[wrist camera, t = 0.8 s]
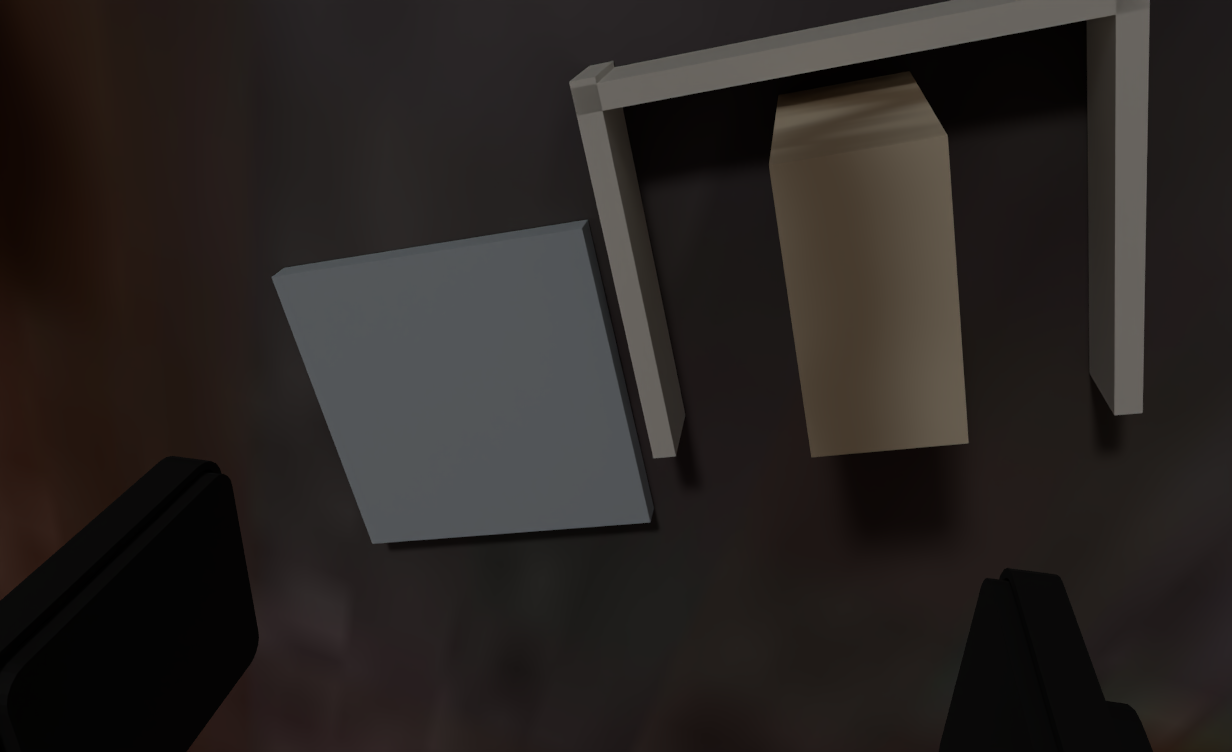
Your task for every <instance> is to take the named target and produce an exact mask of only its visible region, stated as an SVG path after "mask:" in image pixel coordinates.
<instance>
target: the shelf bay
mask: <svg viewBox="0 0 1232 752" xmlns="http://www.w3.org/2000/svg"><path fill="white" fill-rule="evenodd" d="M1149 13H1150V0H951V1H946V2H941V3H936V4H931V5H926V6H921V7H916V8H911V9H906V10H901V11H896V12H891V13H886V14H881V15H876V16H871V17H866V18H861V19H856V20H851V21H846V22H841V23H836V24H831V25H826V26H821V27H816V28H810V29H805V30H800V31H795V32H790V33H785V34H780V35H775V36H770V37H765V38H760V39H755V40H750V41H745V42H740V43H735V44H730V45H725V46H720V47H715V48H710V49H705V50H700V51H695V52H690V53H685V54H680V55H675V56H669V57H664V58H659V59H654V60H649V61H644V62H639V63H634V64H629V65H624V66H619V67H614V62H613V61H611V62H606V63H601V64H596V65H591V66H589V67H587V68H586V69H585V70H584V71H582V72H581V73H580V74H578V75H577V76H576V77H575V78H573V79H572V80H571V81H570V82H569V83H570V88H571V92H572V97H573V101H574V105H575V110H576V114H577V119H578V123H579V128H580V132H581V137H582V141H583V146H584V150H585V155H586V159H587V164H588V168H589V172H590V177H591V181H592V186H593V190H594V195H595V199H596V204H597V208H598V213H599V217H600V222H601V226H602V231H603V235H604V239H605V244H606V248H607V253H608V257H609V262H610V266H611V271H612V275H613V280H614V284H615V289H616V293H617V297H618V302H619V306H620V311H621V315H622V320H623V324H624V329H625V333H626V338H627V342H628V347H629V351H630V356H631V360H632V364H633V369H634V373H635V378H636V382H637V387H638V391H639V396H640V400H641V405H642V409H643V414H644V418H645V423H646V427H647V431H648V436H649V440H650V445H651V449H652V454H653V458H662V457H673V456H676V453H677V449H678V445H679V441H680V436H681V432H682V428H683V423H684V419H685V411H684V406H683V401H682V396H681V391H680V386H679V381H678V376H677V371H676V367H675V362H674V357H673V352H672V347H671V342H670V337H669V332H668V327H667V322H666V317H665V313H664V308H663V303H662V298H661V293H660V288H659V283H658V278H657V273H656V268H655V263H654V259H653V254H652V249H651V244H650V239H649V234H648V229H647V224H646V219H645V214H644V210H643V205H642V200H641V195H640V190H639V185H638V180H637V175H636V170H635V165H634V160H633V156H632V151H631V146H630V141H629V136H628V131H627V126H626V121H625V116H624V111H623V107H626V106H631V105H636V104H642V103H647V102H652V101H658V100H663V99H668V98H674V97H679V96H684V95H690V94H695V93H700V92H706V91H711V90H716V89H722V88H727V87H732V86H738V85H743V84H748V83H754V82H759V81H764V80H770V79H775V78H780V77H786V76H791V75H796V74H802V73H807V72H812V71H818V70H823V69H828V68H834V67H839V66H844V65H850V64H855V63H860V62H866V61H871V60H876V59H882V58H887V57H892V56H898V55H903V54H908V53H914V52H919V51H924V50H930V49H935V48H940V47H946V46H951V45H956V44H962V43H967V42H972V41H978V40H983V39H988V38H994V37H999V36H1004V35H1010V34H1015V33H1020V32H1026V31H1031V30H1036V29H1042V28H1047V27H1052V26H1058V25H1063V24H1068V23H1074V22H1079V21H1084V20H1087V133H1088V257H1089V373H1090V375H1091V377H1092V378H1093V380H1094V382H1095V383H1096V385H1097V387H1098V389H1099V390H1100V392H1101V394H1102V395H1103V397H1104V399H1105V400H1106V402H1107V404H1108V405H1109V407H1110V409H1111V411H1112V412H1113V414H1114V415H1124V414H1135V413H1143V357H1144V300H1145V242H1146V185H1147V128H1148V70H1149Z"/></svg>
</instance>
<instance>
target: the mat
mask: <svg viewBox="0 0 1232 752" xmlns="http://www.w3.org/2000/svg"><path fill="white" fill-rule="evenodd" d="M272 280H273V282H274V285H275V288H276V290H277V293H278V295H279V298H280V301H281V303H282V306H283V309H284V311H285V314H286V317H287V319H288V322H289V325H290V327H291V330H292V332H293V335H294V338H295V340H296V343H297V346H298V348H299V351H300V354H301V356H302V359H303V361H304V364H305V367H306V369H307V372H308V375H309V377H310V380H311V383H312V385H313V388H314V390H315V393H316V396H317V398H318V401H319V404H320V406H321V409H322V412H323V414H324V417H325V420H326V422H327V425H328V427H329V430H330V433H331V435H332V438H333V441H334V443H335V446H336V449H337V451H338V454H339V456H340V459H341V462H342V464H343V467H344V470H345V472H346V475H347V478H348V480H349V483H350V486H351V488H352V491H353V493H354V496H355V499H356V501H357V504H358V507H359V509H360V512H361V515H362V517H363V520H364V522H365V525H366V528H367V530H368V533H369V536H370V538H371V541H372V544H375V543H388V542H401V541H415V540H428V539H441V538H454V537H467V536H480V535H493V534H506V533H520V532H533V531H546V530H559V529H572V528H585V527H598V526H611V525H625V524H638V523H650V522H651V518H652V514H653V510H654V506H653V501H652V497H651V493H650V488H649V484H648V480H647V475H646V471H645V467H644V462H643V458H642V454H641V449H640V445H639V440H638V436H637V432H636V427H635V423H634V419H633V414H632V410H631V406H630V401H629V397H628V392H627V388H626V384H625V379H624V375H623V371H622V366H621V362H620V358H619V353H618V349H617V344H616V340H615V336H614V331H613V327H612V323H611V318H610V314H609V310H608V305H607V301H606V297H605V292H604V288H603V283H602V279H601V275H600V270H599V266H598V262H597V257H596V253H595V249H594V244H593V240H592V235H591V231H590V227H589V222H588V220H582V221H576V222H570V223H563V224H557V225H551V226H544V227H538V228H532V229H526V230H519V231H513V232H507V233H500V234H494V235H488V236H481V237H475V238H469V239H463V240H456V241H450V242H444V243H437V244H431V245H425V246H419V247H412V248H406V249H400V250H393V251H387V252H381V253H375V254H368V255H362V256H356V257H349V258H343V259H337V260H331V261H324V262H318V263H312V264H305V265H299V266H293V267H287V268H284V269H282V270H281V271H279V272H278V273H277V274H275V275H274V276H272Z"/></svg>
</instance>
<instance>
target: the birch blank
mask: <svg viewBox="0 0 1232 752" xmlns="http://www.w3.org/2000/svg"><path fill="white" fill-rule="evenodd" d="M769 169H770V176H771V183H772V190H773V197H774V204H775V210H776V217H777V224H778V231H779V238H780V245H781V252H782V258H783V265H784V272H785V279H786V286H787V293H788V300H789V306H790V313H791V320H792V327H793V334H794V341H795V348H796V355H797V361H798V368H799V375H800V382H801V389H802V396H803V403H804V409H805V416H806V423H807V430H808V437H809V444H810V451H811V457H821V456H832V455H843V454H854V453H866V452H877V451H888V450H899V449H910V448H921V447H932V446H943V445H955V444H966V443H968V428H967V413H966V399H965V384H964V369H963V354H962V339H961V325H960V310H959V295H958V280H957V266H956V251H955V236H954V221H953V207H952V192H951V177H950V162H949V148H948V135H947V134H946V132H945V130H944V129H943V127H942V125H941V123H940V122H939V120H938V118H937V117H936V115H935V113H934V112H933V110H932V108H931V107H930V105H929V103H928V101H927V100H926V98H925V96H924V95H923V93H922V91H921V90H920V88H919V86H918V84H917V83H916V81H915V79H914V78H913V76H912V74H911V73H910V71H907V72H901V73H896V74H890V75H885V76H879V77H874V78H869V79H863V80H858V81H852V82H847V83H841V84H836V85H830V86H825V87H819V88H814V89H808V90H803V91H798V92H792V93H787V94H781V95H778V102H777V110H776V117H775V124H774V132H773V139H772V146H771V154H770V161H769Z"/></svg>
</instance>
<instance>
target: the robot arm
mask: <svg viewBox="0 0 1232 752" xmlns="http://www.w3.org/2000/svg"><path fill="white" fill-rule="evenodd" d="M258 640H259V634H258V627H257V622H256V616H255V610H254V605H253V599H252V594H251V588H250V583H249V577H248V571H247V566H246V560H245V555H244V549H243V543H242V538H241V532H240V527H239V521H238V516H237V510H236V504H235V499H234V493H233V488H232V484H231V480H230V479H229V477H228V476H226V475H224V474H221V471H220V468H219V467H218V466H217V464H216V463H214V462H212V461H206V460H198V459H191V458H183V457H176V456H170V457H166V458H164V459H163V460H161V461H160V462H159V463H158V464H156V465H155V466H154V467H153V468H152V469H151V470H150V471H148V472H147V473H146V474H145V475H144V476H143V477H142V478H140V479H139V480H138V481H137V482H136V483H135V484H134V485H132V486H131V487H130V488H129V489H128V490H127V491H126V492H124V493H123V494H122V495H121V496H120V497H119V498H118V499H116V500H115V501H114V502H113V503H112V504H111V505H109V506H108V507H107V508H106V509H105V510H104V511H103V512H101V513H100V514H99V515H98V516H97V517H96V518H95V519H93V520H92V521H91V522H90V523H89V524H88V525H87V526H85V527H84V528H83V529H82V530H81V531H80V532H79V533H77V534H76V535H75V536H74V537H73V538H72V539H71V540H69V541H68V542H67V543H66V544H65V545H64V546H63V547H61V548H60V549H59V550H58V551H57V552H56V553H55V554H53V555H52V556H51V557H50V558H49V559H48V560H47V561H45V562H44V563H43V564H42V565H41V566H40V567H38V568H37V569H36V570H35V571H34V572H33V573H32V574H30V575H29V576H28V577H27V578H26V579H25V580H24V581H22V582H21V583H20V584H19V585H18V586H17V587H16V588H14V589H13V590H12V591H11V592H10V593H9V594H8V595H6V596H5V597H4V598H3V599H2V600H1V601H0V752H186V751H187V750H188V749H189V747H190V746H191V745H192V743H193V742H194V741H195V739H196V738H197V736H198V735H199V734H200V732H201V731H202V730H203V728H204V727H205V725H206V724H207V723H208V721H209V720H210V719H211V717H212V716H213V714H214V713H215V712H216V710H217V709H218V708H219V706H220V705H221V703H222V702H223V701H224V699H225V698H226V697H227V695H228V694H229V692H230V691H231V690H232V688H233V687H234V686H235V684H236V683H237V681H238V680H239V679H240V677H241V676H242V675H243V673H244V672H245V670H246V669H247V668H248V666H249V665H250V663H251V662H252V660H253V658H254V656H255V653H256V650H257V647H258ZM939 752H1153V750H1152V748H1151V745H1150V743H1149V740H1148V738H1147V735H1146V733H1145V730H1144V728H1143V725H1142V723H1141V721H1140V719H1139V717H1138V715H1137V713H1136V711H1135V710H1134V709H1133V708H1132V707H1130V706H1129V705H1128V704H1123V703H1116V702H1110V701H1105V698H1104V695H1103V693H1102V690H1101V687H1100V684H1099V682H1098V679H1097V676H1096V673H1095V670H1094V668H1093V665H1092V662H1091V659H1090V657H1089V654H1088V651H1087V648H1086V645H1085V643H1084V640H1083V637H1082V634H1081V632H1080V629H1079V626H1078V623H1077V621H1076V618H1075V615H1074V612H1073V609H1072V607H1071V604H1070V601H1069V598H1068V596H1067V593H1066V590H1065V587H1064V585H1063V582H1062V580H1061V578H1060V577H1059V576H1058V575H1055V574H1048V573H1040V572H1033V571H1026V570H1018V569H1011V568H1006V569H1004V570H1003V572H1002V574H1001V576H1000V579H999V580H997V579H990V578H986V579H985V580H984V581H983V583H982V586H981V589H980V593H979V597H978V601H977V605H976V609H975V612H974V616H973V620H972V624H971V628H970V632H969V635H968V639H967V643H966V647H965V651H964V655H963V658H962V662H961V666H960V670H959V674H958V678H957V681H956V685H955V689H954V693H953V697H952V701H951V704H950V708H949V712H948V716H947V720H946V724H945V727H944V731H943V735H942V739H941V743H940V748H939Z"/></svg>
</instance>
